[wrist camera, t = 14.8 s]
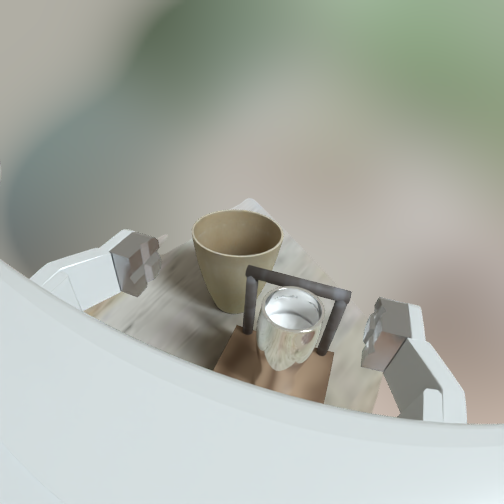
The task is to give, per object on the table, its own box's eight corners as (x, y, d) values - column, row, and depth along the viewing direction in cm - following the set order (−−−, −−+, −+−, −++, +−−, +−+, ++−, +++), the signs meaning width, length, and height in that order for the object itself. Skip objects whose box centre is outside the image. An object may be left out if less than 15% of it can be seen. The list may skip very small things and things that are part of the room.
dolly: (204, 403, 38) (194, 332, 28) (236, 340, 49) (241, 260, 39) (309, 436, 35) (351, 378, 25) (326, 366, 45) (360, 291, 35)
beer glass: (297, 405, 35) (327, 338, 26) (245, 397, 35) (254, 327, 27) (300, 364, 40) (326, 289, 32) (253, 356, 41) (264, 280, 32)
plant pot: (281, 323, 52) (296, 253, 43) (199, 333, 49) (194, 260, 40) (261, 272, 64) (269, 207, 55) (193, 278, 61) (189, 210, 52)
